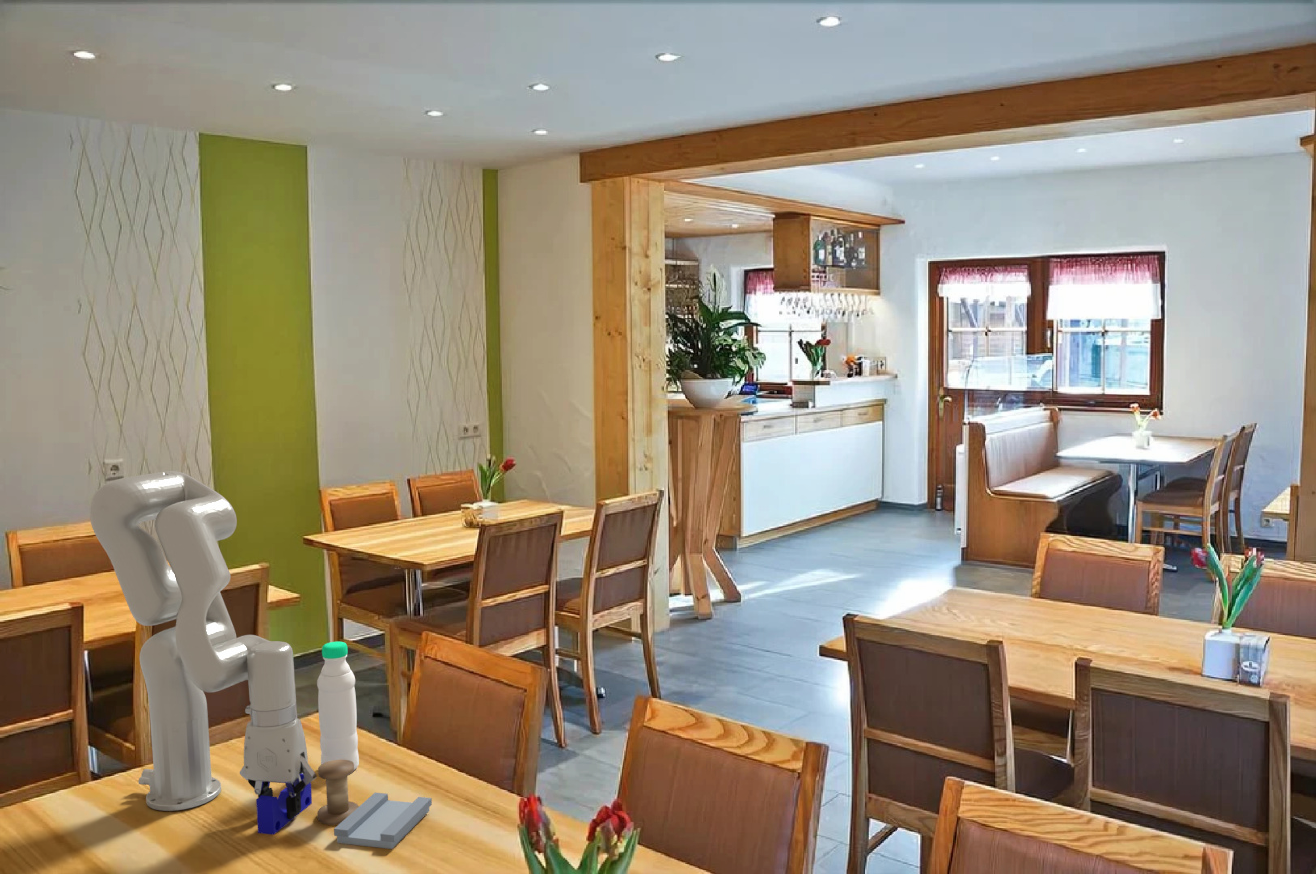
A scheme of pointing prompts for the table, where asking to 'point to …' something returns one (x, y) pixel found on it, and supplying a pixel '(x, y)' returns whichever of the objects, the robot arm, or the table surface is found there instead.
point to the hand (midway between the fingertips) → (280, 813)
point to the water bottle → (337, 706)
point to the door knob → (336, 791)
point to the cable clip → (278, 809)
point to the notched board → (381, 821)
